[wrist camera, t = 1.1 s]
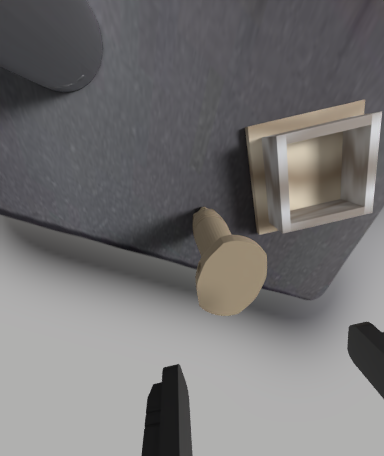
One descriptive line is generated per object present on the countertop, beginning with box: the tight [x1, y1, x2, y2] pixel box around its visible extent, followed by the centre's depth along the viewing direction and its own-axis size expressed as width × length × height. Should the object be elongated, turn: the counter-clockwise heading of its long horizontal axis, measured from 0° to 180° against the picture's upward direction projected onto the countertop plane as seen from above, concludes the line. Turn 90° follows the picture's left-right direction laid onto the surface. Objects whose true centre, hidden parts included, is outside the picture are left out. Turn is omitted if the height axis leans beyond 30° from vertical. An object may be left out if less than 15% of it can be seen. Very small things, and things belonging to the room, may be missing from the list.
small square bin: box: [245, 100, 382, 235], centre depth 26 cm, size 14×14×5 cm
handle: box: [193, 207, 267, 316], centre depth 23 cm, size 5×6×15 cm
